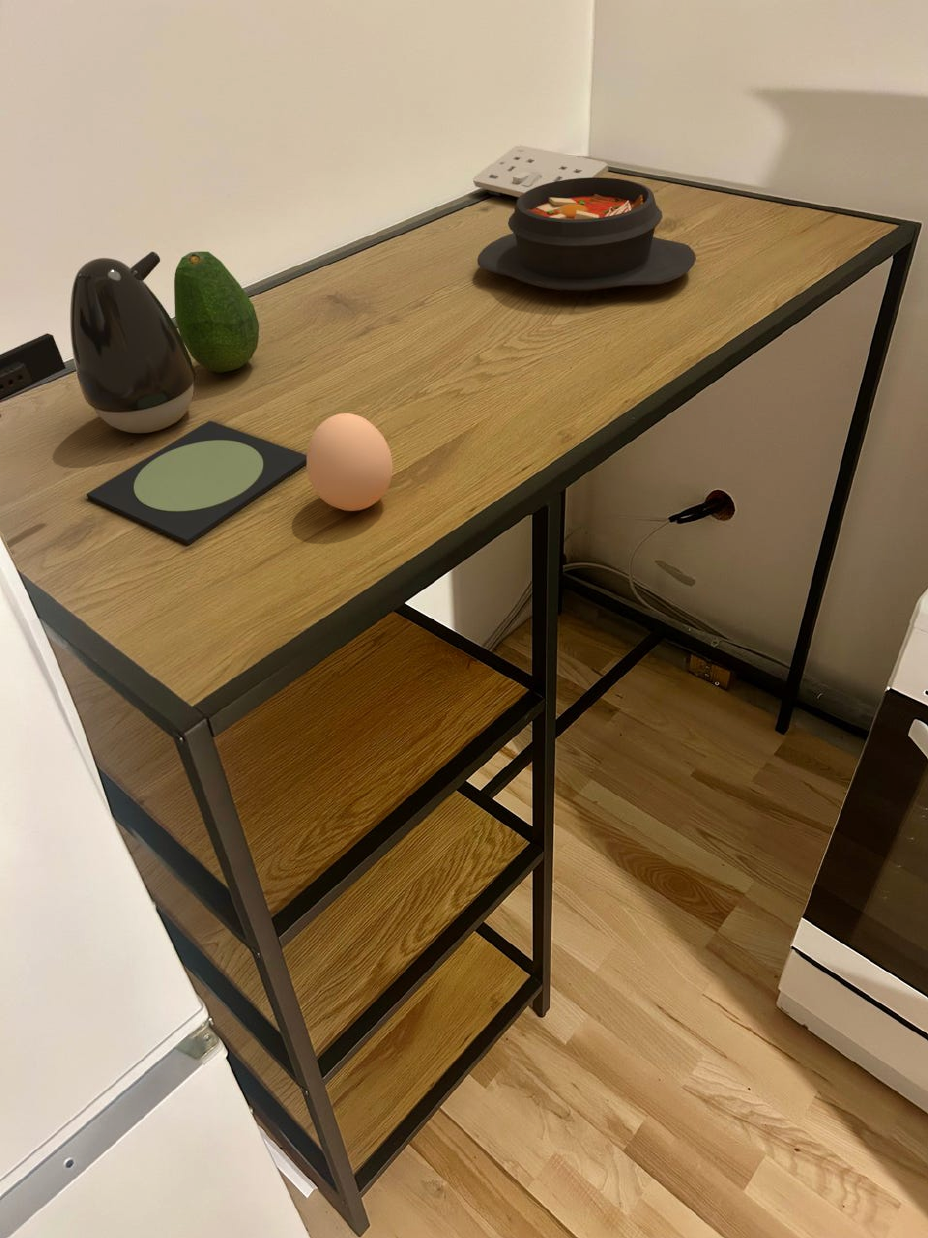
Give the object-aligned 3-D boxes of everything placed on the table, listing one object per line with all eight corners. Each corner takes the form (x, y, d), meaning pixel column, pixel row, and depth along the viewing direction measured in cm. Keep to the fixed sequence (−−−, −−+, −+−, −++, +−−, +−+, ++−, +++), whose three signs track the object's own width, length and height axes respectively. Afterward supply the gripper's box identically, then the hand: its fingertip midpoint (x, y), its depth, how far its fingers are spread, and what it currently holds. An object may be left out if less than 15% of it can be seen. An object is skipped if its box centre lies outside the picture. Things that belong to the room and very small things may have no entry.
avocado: (176, 376, 95) (139, 259, 87) (232, 346, 99) (203, 231, 91) (228, 394, 91) (195, 273, 83) (285, 361, 95) (258, 243, 87)
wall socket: (622, 179, 127) (619, 149, 124) (564, 231, 120) (560, 201, 117) (512, 172, 137) (508, 144, 134) (453, 220, 129) (447, 191, 127)
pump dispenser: (227, 415, 87) (182, 253, 77) (127, 459, 83) (65, 293, 73) (176, 382, 93) (128, 229, 83) (80, 422, 89) (17, 264, 79)
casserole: (710, 251, 108) (718, 175, 103) (671, 317, 96) (677, 234, 90) (512, 237, 117) (509, 166, 111) (452, 295, 104) (446, 219, 99)
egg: (389, 529, 71) (375, 439, 66) (307, 528, 72) (286, 440, 67) (404, 481, 76) (392, 395, 71) (326, 481, 77) (309, 395, 72)
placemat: (88, 498, 78) (85, 492, 78) (211, 424, 86) (209, 419, 86) (188, 545, 72) (186, 539, 72) (311, 461, 80) (309, 455, 80)
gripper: (-309, 457, 70) (-54, 347, 82) (-154, 559, 58) (118, 411, 70) (-376, 366, 65) (-94, 263, 77) (-221, 455, 53) (83, 317, 65)
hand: (7, 333), depth 74 cm, fingers open, 13 cm apart
